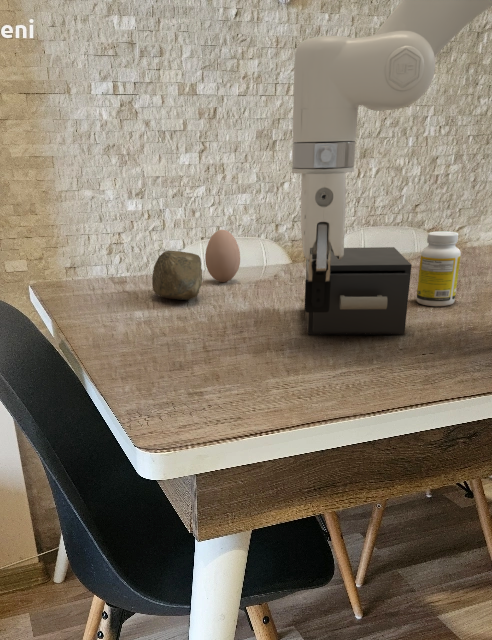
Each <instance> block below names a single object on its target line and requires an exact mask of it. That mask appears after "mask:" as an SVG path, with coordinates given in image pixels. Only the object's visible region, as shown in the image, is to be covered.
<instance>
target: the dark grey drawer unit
mask: <svg viewBox="0 0 492 640" xmlns="http://www.w3.org/2000/svg"><path fill="white" fill-rule="evenodd" d="M305 261H306V262H305V280H306V279H307V265H308V259H307V258H305ZM412 266H413V265H412V264H411V262H410V261H408V259H407V258H405V256H404V255H402V254H401V252H400V251H398V249H396V247H394V246H385V247H382V246H381V247H380V246H377V247H375V246H374V247H373V246H372V247H344V256H343V258H342V259H340V260H338V259H337V257H336V256H334V253H333V251H331V264H330V271H399V272H400V273H408V274H409V281H408V290H407V300H406V309H405V319H404V328H403V332H313V313H308V312H306V311H305V310H304V315H305V322H306V330H307V335H308V336H312V335H313V336H314V335H318V336H319V335H320V336H321V335H323V336H326V335H329V336H333V335H335V336H338V335H341V336H343V335H344V336H346V335H348V336H349V335H351V336H353V335H354V336H355V335H362V336H363V335H365V336H367V335H368V336H371V335H373V336H374V335H376V336H377V335H382V336H383V335H385V336H386V335H388V336H389V335H396V336H397V335H402V336H403V335H405V331H406V321H407V312H408V305H409V293H410V285H411V284H410V283H411V275H412Z"/></svg>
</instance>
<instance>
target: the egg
mask: <svg viewBox="0 0 492 640" xmlns="http://www.w3.org/2000/svg"><path fill="white" fill-rule="evenodd" d="M206 245H207V246H206V249H205V255H204V256H205V259H204V260H205V267H206V270H207V272H208V274H209V275H210V276H211V277H212V278H213V279H214V280H215V281H217V282H219V283H226V282H227V283H228V282H229V281H232V279H234V277H235V276H236V274H237V273H238V271H239V269H240V266H241V250H240V247H239V244H238V242H237V240H236V238H235V236H234V235H233V234H232V233H231V232H230V231H229V230H226V229H218V230H216V231H215V232H214V233H213V234H212V235H211V237H210V238H209V240H208V243H207V244H206Z"/></svg>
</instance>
